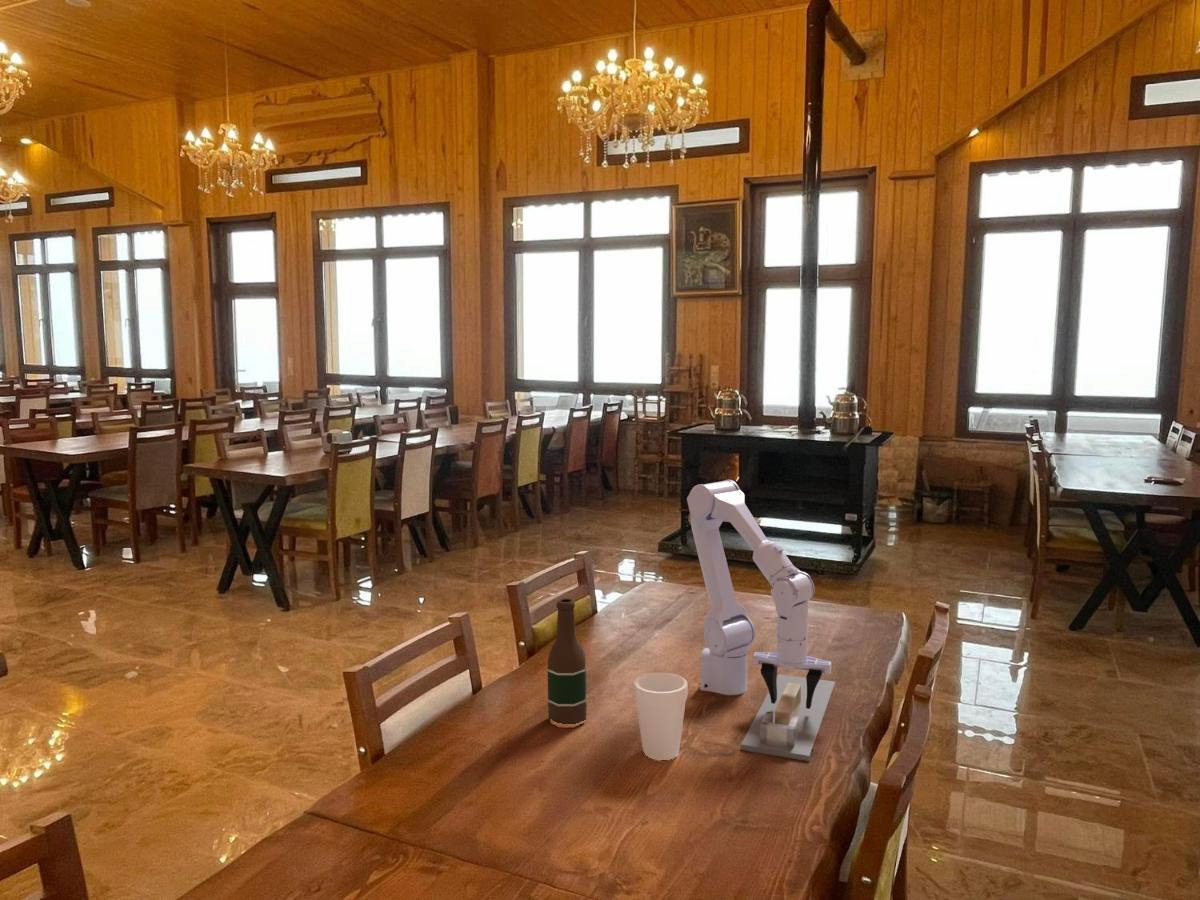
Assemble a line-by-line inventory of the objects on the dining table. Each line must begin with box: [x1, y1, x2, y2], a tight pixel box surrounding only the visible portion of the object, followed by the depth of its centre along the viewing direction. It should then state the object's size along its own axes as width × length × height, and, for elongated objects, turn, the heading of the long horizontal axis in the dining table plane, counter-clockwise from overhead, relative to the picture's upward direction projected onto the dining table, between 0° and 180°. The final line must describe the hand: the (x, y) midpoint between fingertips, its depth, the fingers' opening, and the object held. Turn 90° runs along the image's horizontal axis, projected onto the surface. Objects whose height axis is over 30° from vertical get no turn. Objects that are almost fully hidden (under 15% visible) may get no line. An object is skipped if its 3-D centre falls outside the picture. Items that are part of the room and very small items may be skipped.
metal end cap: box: [760, 712, 799, 748], centre depth 154 cm, size 6×6×4 cm
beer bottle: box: [546, 598, 588, 724], centre depth 164 cm, size 8×8×24 cm
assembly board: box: [740, 673, 836, 762], centre depth 166 cm, size 12×35×1 cm, turn 158°
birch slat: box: [774, 683, 801, 726], centre depth 162 cm, size 2×14×4 cm, turn 158°
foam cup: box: [633, 671, 689, 761], centre depth 151 cm, size 10×9×13 cm
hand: (791, 704), depth 165 cm, fingers open, 6 cm apart
